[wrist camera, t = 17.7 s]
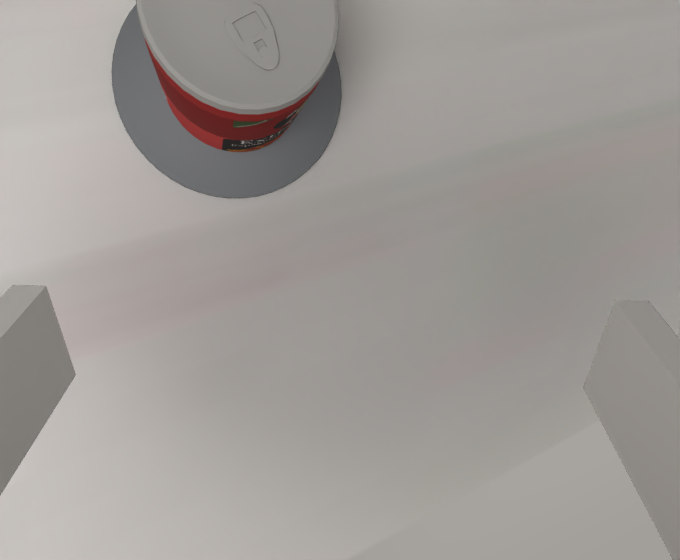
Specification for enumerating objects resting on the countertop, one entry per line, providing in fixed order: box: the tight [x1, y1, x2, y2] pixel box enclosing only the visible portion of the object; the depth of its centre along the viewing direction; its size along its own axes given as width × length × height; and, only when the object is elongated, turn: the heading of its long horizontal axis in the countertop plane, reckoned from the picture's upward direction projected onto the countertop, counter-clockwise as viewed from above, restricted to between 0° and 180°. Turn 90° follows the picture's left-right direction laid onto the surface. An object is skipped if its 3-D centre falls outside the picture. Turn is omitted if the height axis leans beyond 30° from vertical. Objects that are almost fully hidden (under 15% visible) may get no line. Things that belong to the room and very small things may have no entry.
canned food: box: [136, 0, 339, 152], centre depth 25 cm, size 8×8×11 cm
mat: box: [112, 4, 341, 198], centre depth 31 cm, size 13×13×1 cm
